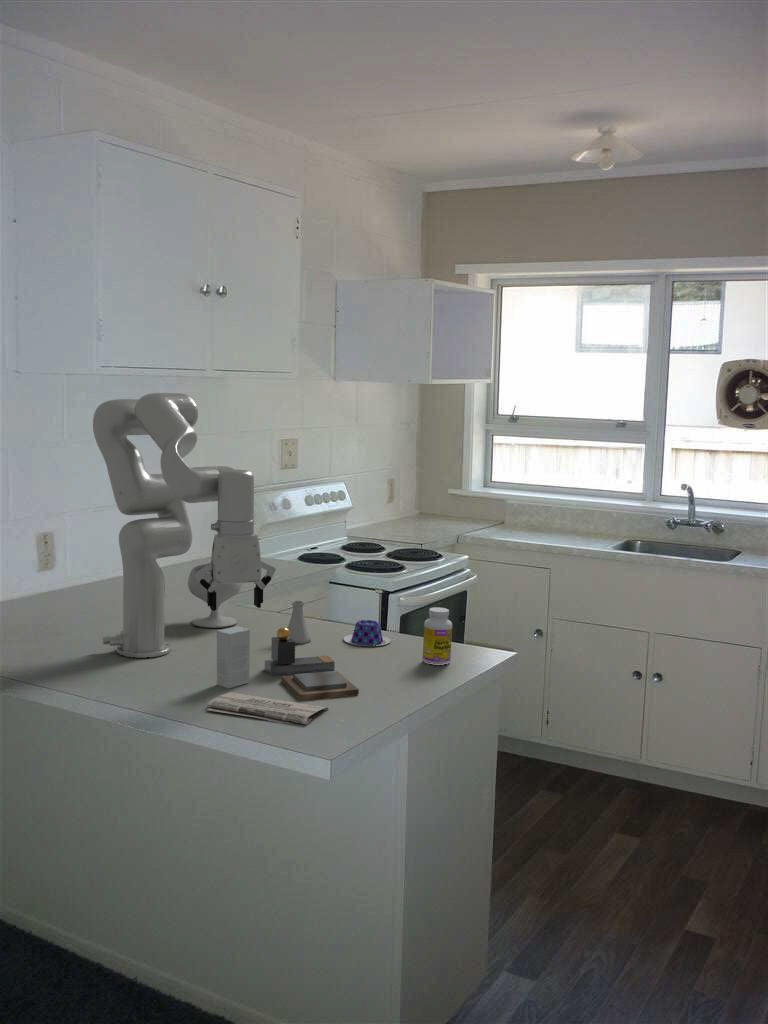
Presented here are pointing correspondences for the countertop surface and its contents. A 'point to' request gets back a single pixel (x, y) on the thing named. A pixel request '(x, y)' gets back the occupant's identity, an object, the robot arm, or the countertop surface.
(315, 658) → the rail
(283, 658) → the handle
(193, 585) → the chalice
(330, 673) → the tray
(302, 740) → the countertop surface
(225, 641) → the skincare box
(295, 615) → the flask
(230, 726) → the countertop surface
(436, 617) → the supplement bottle
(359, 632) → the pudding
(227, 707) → the newspaper
